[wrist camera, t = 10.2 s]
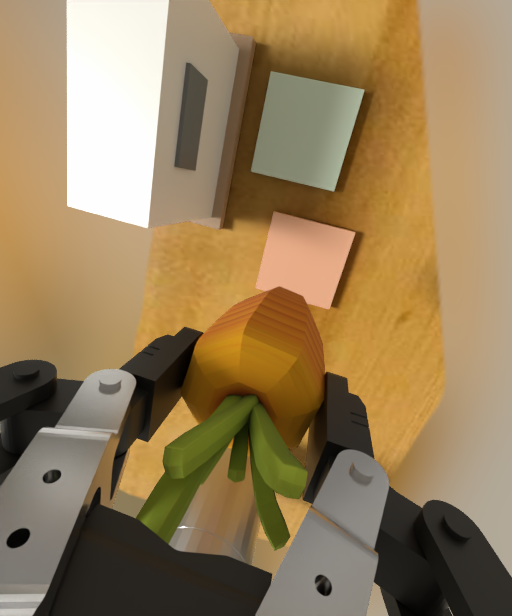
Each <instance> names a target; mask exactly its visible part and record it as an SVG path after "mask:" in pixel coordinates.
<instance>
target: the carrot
mask: <svg viewBox="0 0 512 616" xmlns="http://www.w3.org/2000/svg"><path fill="white" fill-rule="evenodd" d="M324 393H325V364H324V354H323V343H322V340H321V337H320V335H319V332H318V329H317V327H316V324H315V322H314V320H313V317H312V315H311V312H310V310H309V308H308V305H307V303H306V301H305V299H304V297H303V296H302V295H299V294H297V293H295V292H292V291H290V290H287V289H285V288H283V287H280V286H279V287H276V288H273V289H271V290H268V291H266V292H263V293H261V294H258V295H255V296H253V297H250V298H248V299H246V300H244V301H242V302H240V303H238V304H236V305H234V306H233V307H232V308H230V309H229V310H228V311H227V312H226V313H225V314H224V315H222V316H221V317H220V318H219V319H218V320H217V321H216V322H215V323H214V324H213V325H212V326H211V327H210V328H209V329H208V330H207V331H206V332H205V333H204V334H203V335H202V336H201V337H200V338H199V340H198V341H197V343H196V345H195V349H194V352H193V355H192V358H191V361H190V364H189V367H188V370H187V373H186V377H185V380H184V383H183V386H182V390H181V395H182V397H183V399H184V401H185V402H186V404H187V406H188V408H189V409H190V411H191V413H192V415H193V417H194V418H195V420H196V422H197V424H198V425H197V426H195V427H194V428H192V429H190V430H189V431H187V432H185V433H184V434H182V435H181V436H180V437H178V438H177V439H175V440H174V441H173V442H171V443H170V444H169V445H167V446H166V447H165V450H164V456H163V465H164V469H165V473H164V474H163V476H162V477H161V478H160V480H159V481H158V483H157V484H156V486H155V488H154V489H153V491H152V492H151V494H150V496H149V497H148V499H147V501H146V503H145V504H144V506H143V507H142V509H141V511H140V512H139V514H138V516H137V517H136V519H138V520H140V521H141V522H142V523H143V524H144V525H146V526H147V527H148V528H149V529H151V530H152V531H153V532H154V533H155V534H157V535H158V536H159V537H160V538H162V539H163V540H164V541H165V542H166V543H168V544H169V542H170V540H171V538H172V537H173V535H174V533H175V531H176V529H177V528H178V526H179V524H180V522H181V520H182V519H183V517H184V515H185V513H186V511H187V509H188V507H189V505H190V503H191V501H192V500H193V498H194V496H195V494H196V492H197V490H198V488H199V486H200V485H203V484H204V482H205V481H206V479H207V478H208V476H209V475H210V473H211V472H212V470H213V469H214V467H215V466H216V464H217V463H218V461H219V460H220V458H221V457H222V455H223V454H224V452H225V451H226V449H227V447H228V448H230V449H232V450H231V456H230V462H229V469H228V475H227V477H228V479H230V480H231V481H233V482H235V483H236V482H240V481H243V480H244V479H245V472H246V463H247V456H249V457H250V464H251V473H252V482H253V490H254V496H255V502H256V509H257V513H258V515H259V518H260V521H261V523H262V526H263V529H264V531H265V534H266V536H267V538H268V539H269V541H270V543H271V545H272V547H273V549H274V550H277V549H279V548H282V547H284V546H285V544H286V543H287V541H288V539H289V538H290V534H289V531H288V528H287V525H286V522H285V520H284V517H283V515H282V513H281V510H280V508H279V506H278V503H277V500H276V496H275V492H277V493H279V494H281V495H283V496H285V497H287V498H294V499H299V498H300V496H301V494H302V492H303V490H304V489H305V487H306V481H307V475H308V472H307V470H306V469H305V468H304V467H303V466H302V464H301V463H300V462H299V461H298V460H297V459H296V458H295V456H294V455H293V454H292V453H291V452H290V451H289V449H290V448H295V447H298V445H299V444H300V442H301V440H302V438H303V436H304V435H305V433H306V431H307V429H308V427H309V426H310V424H311V422H312V420H313V419H314V417H315V415H316V413H317V411H318V410H319V408H320V406H321V404H322V402H323V401H324ZM274 491H275V492H274Z"/></svg>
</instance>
